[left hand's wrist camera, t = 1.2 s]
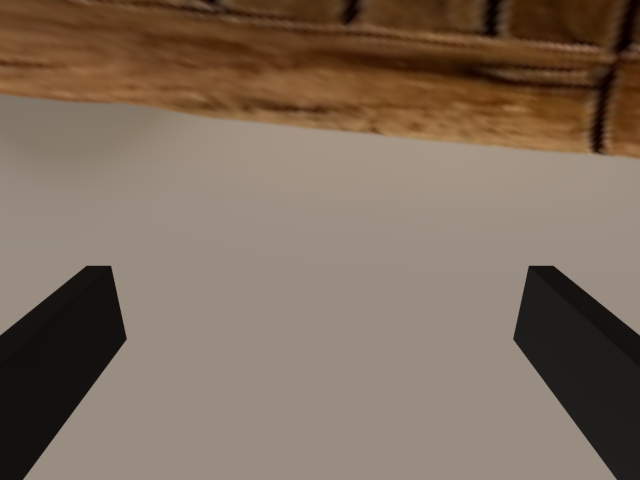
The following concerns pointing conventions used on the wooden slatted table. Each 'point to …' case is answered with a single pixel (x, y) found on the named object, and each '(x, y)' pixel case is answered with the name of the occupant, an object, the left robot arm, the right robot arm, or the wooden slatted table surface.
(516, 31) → the wooden slatted table surface
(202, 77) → the wooden slatted table surface
